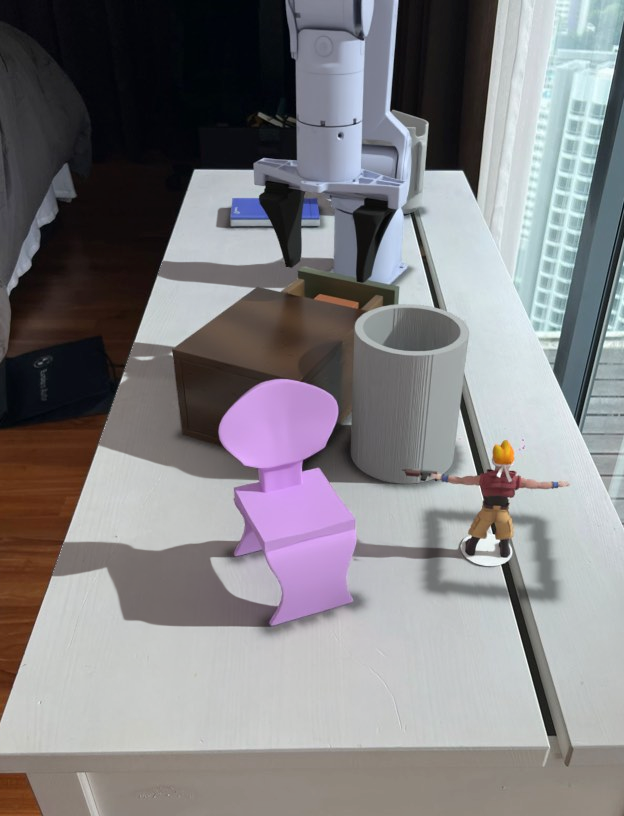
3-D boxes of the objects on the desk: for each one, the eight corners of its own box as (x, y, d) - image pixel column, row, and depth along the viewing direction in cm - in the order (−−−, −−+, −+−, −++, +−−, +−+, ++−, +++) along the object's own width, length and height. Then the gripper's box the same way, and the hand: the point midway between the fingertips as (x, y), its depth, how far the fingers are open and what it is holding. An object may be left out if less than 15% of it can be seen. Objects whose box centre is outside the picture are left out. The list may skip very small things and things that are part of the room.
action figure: (395, 558, 64) (403, 456, 58) (396, 534, 66) (404, 433, 60) (554, 569, 63) (579, 466, 57) (550, 544, 66) (573, 443, 60)
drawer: (320, 311, 95) (320, 252, 90) (410, 332, 91) (415, 271, 87) (240, 381, 82) (236, 316, 78) (341, 407, 79) (342, 341, 75)
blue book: (230, 216, 116) (319, 216, 117) (232, 196, 122) (317, 196, 123) (230, 227, 117) (319, 227, 118) (232, 207, 123) (317, 207, 124)
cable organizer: (379, 190, 131) (383, 106, 123) (433, 213, 123) (441, 124, 116) (345, 199, 127) (347, 112, 120) (399, 222, 120) (405, 132, 112)
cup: (335, 437, 77) (337, 314, 69) (423, 418, 79) (434, 297, 72) (377, 493, 70) (385, 363, 63) (472, 469, 73) (490, 343, 65)
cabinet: (260, 366, 87) (257, 286, 81) (368, 393, 83) (371, 311, 77) (181, 435, 76) (171, 349, 71) (300, 469, 73) (298, 381, 67)
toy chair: (259, 635, 57) (247, 452, 48) (220, 557, 64) (203, 381, 54) (369, 602, 60) (379, 423, 50) (322, 531, 66) (322, 358, 57)
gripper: (233, 118, 72) (242, 272, 81) (389, 141, 68) (380, 301, 76) (272, 101, 77) (277, 247, 86) (420, 121, 73) (409, 273, 81)
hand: (328, 271), depth 81 cm, fingers open, 7 cm apart
